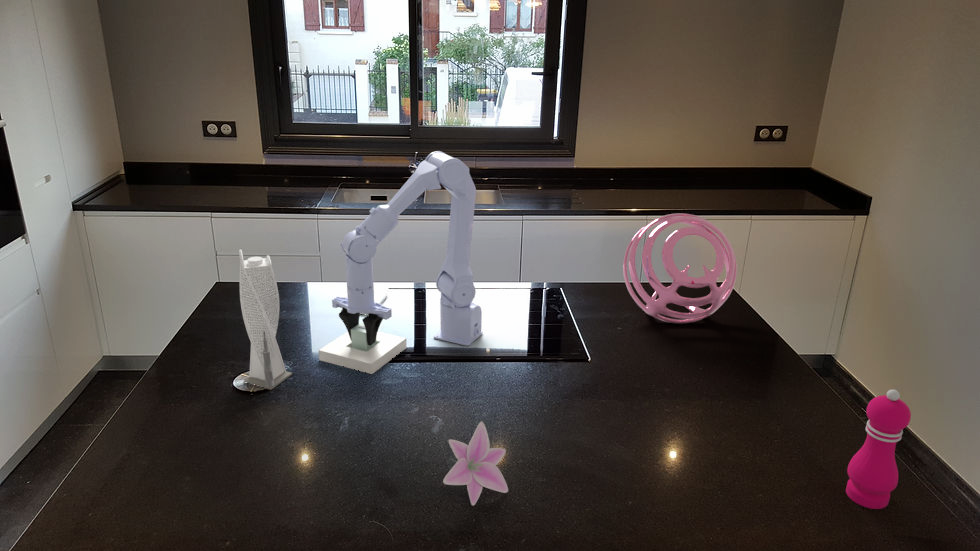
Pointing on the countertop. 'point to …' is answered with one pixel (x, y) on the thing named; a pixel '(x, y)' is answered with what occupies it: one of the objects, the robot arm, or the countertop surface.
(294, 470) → the countertop surface
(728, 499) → the countertop surface
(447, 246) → the robot arm
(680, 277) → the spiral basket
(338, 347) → the outlet plate
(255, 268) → the skyscraper
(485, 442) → the lily
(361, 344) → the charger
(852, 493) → the pepper mill
